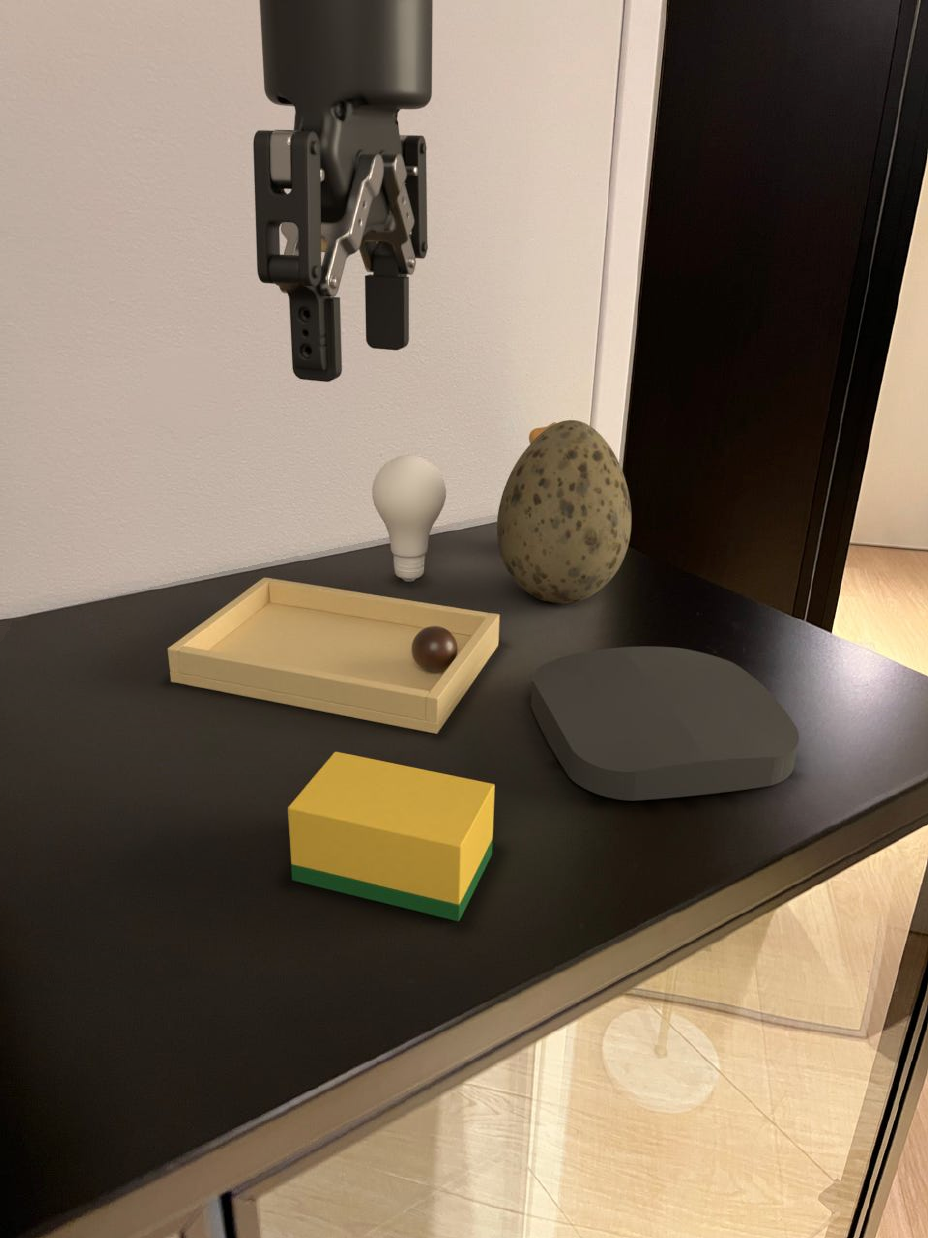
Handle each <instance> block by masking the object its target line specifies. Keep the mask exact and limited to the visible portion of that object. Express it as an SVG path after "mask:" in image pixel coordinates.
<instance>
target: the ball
mask: <svg viewBox="0 0 928 1238" xmlns="http://www.w3.org/2000/svg"><path fill="white" fill-rule="evenodd" d="M457 651H458V647H457V642H456V640H455V638H454V636H453V635H452V633H451V632H449V631H448V630H447V629H445V628H443V627H439V626H430V627H427V628H424V629H422V630H421V631H420V632H419V633H418V634H417V635H416V636H415V638H414V640H413V642H412V656H413V658H414V660H415V662H416V663H417V665H418V666H419V667H421V668H422V669H424V670H426V671H429V672H440V671H443V670H445V669H447V668H448V667H449V666H450V664H451V663H452V662H453V660H454V659H455V658H456V656H457Z"/></svg>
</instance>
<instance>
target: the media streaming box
mask: <svg viewBox="0 0 928 1238" xmlns="http://www.w3.org/2000/svg"><path fill="white" fill-rule="evenodd" d="M530 694H531V695H530V698H531V699H530V707H531V710H532V713H533V714H534V717H535V719H536V722H537V724H538V726H539V728H540V730H541V732H542V734H543V736H544V738H545V740H546V741H547V743H548V745H549V747H550V749H551V750H552V752H553V754H554V756H555V757H556V759H557V760H558V762H559V763H560V766H561V767H562V768H563V770H564V771H565V773H566V775H567V777H568V778H569V779H570V780H571V781H573V782H574V783H575V784H576V785H578V786H579V787H581V788H583V790H586V791H588V792H590V793H593V794H595V795H597V796H598V795H599V796H602V797H604V798H609V799H614V800H619V801H629V802H631V801H633V802H634V801H647V800H648V801H649V800H661V799H674V798H684V797H685V798H686V797H694V796H705V795H714V794H721V793H731V792H737V791H738V792H739V791H745V790H752V789H760V788H764V787H771V786H775V785H777V784H780V783H781V782H784V781H785V780H786V779H788V778H789V777H790V776H791V774H792V773H793V770H794V767H795V761H796V756H797V751H798V746H799V740H800V734H799V731H798V728H797V726H796V724H795V723H794V722H793V720H792V718H791V717H790V715H789V714H788V712H786V710H785V709H784V707H783V706H782V705H781V704H780V703H779V701H778V700H777V699H776V698H775V697H774V695H773V694H772V693H771V692H770V691H769V690H768V689H767V688H766V687H765V686H764V685H763V684H762V683H761V682H759V680H757V679H756V678H755V677H754V676H753V675H751V674H750V673H749V672H748V671H746V670H745V669H743V668H742V667H741V666H739V665H737V664H736V663H734V662H732V661H730V660H727V659H725V658H722V657H719V656H716V655H713V654H709V653H705V652H701V651H696V650H692V649H689V648H688V649H687V648H681V647H671V646H647V645H646V646H644V645H643V646H622V647H611V648H604V649H603V648H602V649H595V650H589V651H583V652H577V653H574V654H573V653H572V654H569V655H564V656H560V657H558V658H555V659H552V660H550V661H548V662H546V663H544V664H543V665H541V666H540V667H538V668H537V669H536V670H535V671H534V673H533V674H532V678H531V693H530Z"/></svg>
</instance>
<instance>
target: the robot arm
mask: <svg viewBox="0 0 928 1238" xmlns="http://www.w3.org/2000/svg"><path fill="white" fill-rule="evenodd" d="M433 1H434V0H259V13H260V14H259V15H260V36H261V52H262V55H261V56H262V72H263V91H264V94H265V96H266V97H267V99H268V100H269V101H270V102H271V103H273V104H274V105H278V106H282V107H283V106H284V107H294V121H293V122H294V124H293V129H274V130H270V129H269V130H268V129H267V130H266V129H263V130H261V129H259V130H258V129H257V131H256V132H255V134H254V136H253V142H252V143H253V144H252V145H253V146H252V147H253V177H254V179H253V180H254V207H255V213H254V214H255V239H256V241H255V242H256V267H257V269H256V270H257V271H256V272H257V277H258V279H259V281H260V282H261V283H263V284H272V285H273V284H274V285H276V286H278V287H279V291H280V292H281V293H283V294H287V296H288V304H289V307H288V308H289V325H290V327H289V328H290V345H291V346H290V347H291V366H292V368H291V369H292V372H293V374H294V376H295V377H296V378H297V379H299V380H302V381H312V382H321V383H322V382H324V383H329V382H332V381H334V380H337V379H338V378H340V377H341V375H342V373H343V355H342V326H341V325H342V320H341V318H342V317H341V315H342V314H341V297H339V296H337V295H338V292H339V289H340V285H341V282H342V277H343V274H344V271H345V266H346V262H347V259H348V258H349V257H350V256H352V255H354V254H356V253H357V252H358V251H359V253H360V256H361V260H362V263H363V265H364V269H365V271H366V272H367V273H369V274H366V275H364V297H365V299H364V305H365V342H366V344H367V345H368V347H369V348H372V349H374V350H376V349H377V350H387V351H400V350H402V349H404V348H406V347H407V346H408V344H409V342H410V276H412V275H414V272H415V269H416V264H417V260H416V259H420V260H421V259H422V260H423V259H425V258H426V257H427V254H428V249H429V244H428V183H427V181H428V180H427V179H428V178H427V177H428V175H427V143H426V138H425V137H424V135H413V134H411V135H409V134H400V126H399V121H398V116H399V112H400V111H401V110H419V109H420V110H421V109H423V108H425V107H426V106H428V105H429V103H430V102H431V99H432V96H433V95H432V94H433V17H434V16H433V15H434V14H433V13H434V12H433V11H434V10H433V8H434V7H433V5H434V4H433V3H434V2H433ZM286 190H290V191H289V192H288V193H287V192H286ZM280 232H281V234H282V235H283V237H284V239H286V245H285V248H284V252H283V254H281V244H280V243H281V242H280V241H281V240H280V239H281V238H280V235H281V234H280ZM322 253H324V255H323V260H322ZM370 273H372V274H370Z"/></svg>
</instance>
